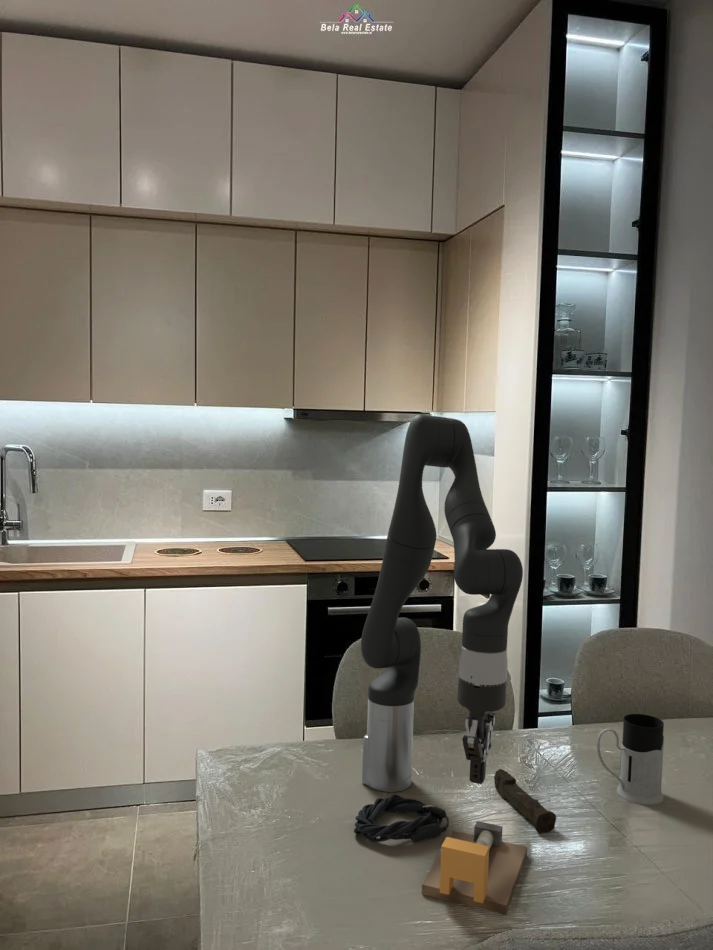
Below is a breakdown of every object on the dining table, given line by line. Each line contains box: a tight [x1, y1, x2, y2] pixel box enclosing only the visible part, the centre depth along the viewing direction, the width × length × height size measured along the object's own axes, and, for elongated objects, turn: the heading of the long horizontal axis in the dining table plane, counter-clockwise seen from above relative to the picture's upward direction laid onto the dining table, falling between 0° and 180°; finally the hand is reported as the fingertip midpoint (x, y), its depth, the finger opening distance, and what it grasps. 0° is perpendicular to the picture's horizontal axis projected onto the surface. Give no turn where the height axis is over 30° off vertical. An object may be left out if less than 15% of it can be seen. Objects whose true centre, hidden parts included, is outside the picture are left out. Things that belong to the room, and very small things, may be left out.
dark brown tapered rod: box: [493, 768, 557, 834], centre depth 150 cm, size 19×4×5 cm, turn 16°
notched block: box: [440, 836, 489, 903], centre depth 119 cm, size 7×3×7 cm, turn 68°
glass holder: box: [596, 713, 665, 806], centre depth 157 cm, size 9×14×15 cm, turn 102°
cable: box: [353, 793, 450, 843], centre depth 142 cm, size 17×14×4 cm
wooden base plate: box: [421, 820, 528, 916], centre depth 128 cm, size 13×18×4 cm
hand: (477, 781), depth 126 cm, fingers closed
